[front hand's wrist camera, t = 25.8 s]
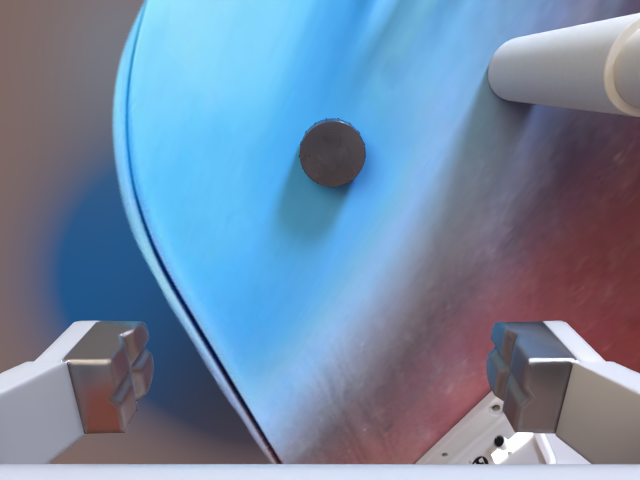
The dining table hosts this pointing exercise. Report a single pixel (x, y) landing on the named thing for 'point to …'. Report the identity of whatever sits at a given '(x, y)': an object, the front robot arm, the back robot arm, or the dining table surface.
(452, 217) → the dining table surface
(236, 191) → the dining table surface
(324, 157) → the lid
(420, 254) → the dining table surface
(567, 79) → the white cylinder
